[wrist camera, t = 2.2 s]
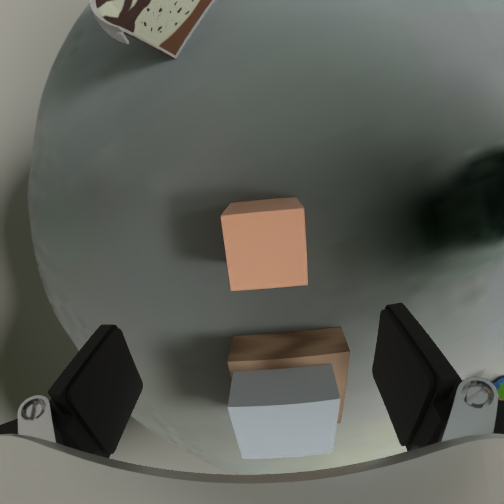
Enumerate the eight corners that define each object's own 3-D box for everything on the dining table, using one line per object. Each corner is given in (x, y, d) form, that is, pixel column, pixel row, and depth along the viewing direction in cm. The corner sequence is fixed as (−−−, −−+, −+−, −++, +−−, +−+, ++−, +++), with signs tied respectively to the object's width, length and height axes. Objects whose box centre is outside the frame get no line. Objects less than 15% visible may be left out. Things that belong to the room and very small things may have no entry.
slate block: (331, 363, 24) (340, 398, 20) (326, 421, 27) (332, 452, 23) (233, 371, 25) (227, 406, 21) (245, 427, 28) (242, 458, 23)
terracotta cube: (295, 196, 24) (304, 208, 19) (300, 258, 26) (307, 284, 20) (230, 202, 24) (220, 215, 19) (238, 263, 26) (231, 290, 21)
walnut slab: (340, 324, 28) (349, 351, 24) (334, 396, 31) (340, 423, 27) (232, 333, 29) (227, 361, 25) (246, 403, 32) (243, 430, 28)
